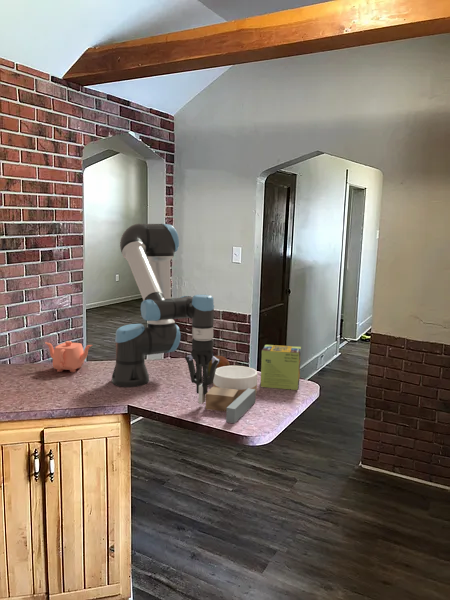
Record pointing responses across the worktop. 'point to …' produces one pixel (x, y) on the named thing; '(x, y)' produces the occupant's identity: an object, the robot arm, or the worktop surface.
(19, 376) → the worktop surface
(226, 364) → the fruit
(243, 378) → the bowl
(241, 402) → the grey long rectangular bar
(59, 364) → the teapot
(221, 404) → the walnut block
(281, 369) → the protein box
